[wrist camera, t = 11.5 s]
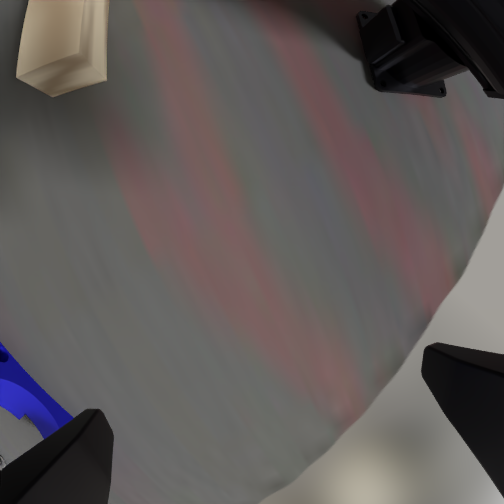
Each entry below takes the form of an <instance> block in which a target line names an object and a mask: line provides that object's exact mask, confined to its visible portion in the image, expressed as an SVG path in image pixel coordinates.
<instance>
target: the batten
mask: <svg viewBox="0 0 504 504" xmlns="http://www.w3.org/2000/svg"><path fill="white" fill-rule="evenodd" d="M108 12H109V0H29V3H28V7H27V11H26V16H25V20H24V25H23V31H22V36H21V42H20V49H19V56H18V64H17V73H16V78H18V79H20V80H21V81H23V82H25V83H27V84H29V85H31V86H33V87H34V88H36V89H38V90H40V91H42V92H44V93H45V94H47V95H49V96H51V97H56V96H58V95H61V94H64V93H67V92H70V91H73V90H76V89H80V88H83V87H86V86H90V85H93V84H97V83H100V82H104V81H107V29H108Z"/></svg>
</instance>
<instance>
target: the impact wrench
mask: <svg viewBox="0 0 504 504" xmlns="http://www.w3.org/2000/svg"><path fill="white" fill-rule="evenodd" d="M5 466H6V464H5V462H4V460H3V458H2V457H1V456H0V470H2V468H4V467H5Z"/></svg>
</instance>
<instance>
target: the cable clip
mask: <svg viewBox="0 0 504 504" xmlns="http://www.w3.org/2000/svg"><path fill="white" fill-rule="evenodd" d="M0 406H1V407H3V408H5V409H6V410H8V411H9V412H11V413H12V414H13V415H15V416H16V417H17V418H18V419H20V418H21V417H23V416H24V415H25V414H26V415H27V416H28V417H29V418H30V419H31V421H32V422H33V423H34V424H35V426H36V427H37V428H38V430H39V431H40V433H41V435H42V436H43V438H44V439H45V438H47V437H48V436H50V435H51V434H52V433H54V432H55V431H57V430H58V429H59V428H61V427H62V426H64V425H65V424H66V423H68V422H69V421H71V420H72V419H73V417H72V416H71V415H70V414H69V413H68V412H67V411H65V410H64V409H63V408H62V407H61V406H60V405H59V404H58V403H57V402H56V401H55V400H53V399H52V398H51V397H50V396H49V395H48V394H47V393H46V392H45V391H44V390H43V389H42V388H41V387H40V386H39V385H38V384H37V383H36V382H35V381H34V380H33V379H32V378H31V377H30V375H29V374H28V373H27V372H26V371H25V370H24V369H23V368H22V367H21V366H20V365H19V363H18V362H17V361H16V360H15V359H14V358H13V357H12V355H11V354H10V353H9V352H8V351H7V350H6V348H5V347H4V346H3V345H2V343H1V342H0Z"/></svg>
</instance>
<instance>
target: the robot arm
mask: <svg viewBox="0 0 504 504" xmlns="http://www.w3.org/2000/svg"><path fill="white" fill-rule="evenodd" d="M362 16H363V17H365V19H364V18H363V17H362ZM356 18H357V21H358V24H359V28H360V35H361V39H362V42H363V46H364V50H365V53H366V57H367V61H368V62H369V64H370V69H371V73H372V77H373V81H374V85H375V88H376V89H377V90H378V91H380V92H389V93H402V94H413V95H422V96H430V97H438V98H442V97H445V96H446V88H445V84H444V79H446V78H449V77H452V76H454V75H457V74H460V73H462V72H465V71H468V70H470V71H471V73H472V74H473V75H474V77H475V78H476V79H477V80H478V82H479V83H480V84H481V86H482V87H483V91H484V92H485V93H486V95H487V96H488V97H491V98H501V99H504V0H396V1H395V2H394V3H393V4H392V5H386V6H385V7H384V8H383V9H382V10H381V11H380V12H379V13H372V12H366V11H360V12H359V13H358V14H357V16H356ZM380 82H381V83H383V85H384V87H382V86H381V84H380ZM439 89H440V90H439ZM440 91H441V92H440ZM421 373H422V377H423V379H424V381H425V382H426V384H427V386H428V387H429V389H430V390H431V392H432V394H433V395H434V397H435V399H436V401H437V402H438V404H439V406H440V407H441V409H442V410H443V412H444V414H445V415H446V417H447V418H448V420H449V421H450V422H451V424H452V425H453V426H454V427H455V429H456V430H457V432H458V433H459V434H460V436H461V437H462V438H463V440H464V441H465V443H466V444H467V446H468V447H469V448H470V450H471V451H472V453H473V454H474V455H475V457H476V458H477V460H478V461H479V462H480V464H481V465H482V467H483V468H484V470H485V471H486V472H487V474H488V475H489V477H490V478H491V480H492V481H493V483H494V484H495V486H496V487H497V489H498V490H499V492H500V493H501V495H502V496H503V498H504V354H498V353H492V352H486V351H481V350H475V349H470V348H464V347H459V346H454V345H448V344H444V343H438V342H437V343H434V344H431V345H428V346H427V347H426V348H425V349H424V354H423V361H422V368H421ZM113 442H114V435H113V431H112V429H111V427H110V425H109V423H108V421H107V419H106V417H105V415H104V413H103V412H102V411H101V410H100V409H86V410H84V411H83V412H82V413H80V414H79V415H78V416H76V417H75V418H73V419H72V420H71V421H69V422H68V423H66V424H65V425H64V426H62V427H61V428H59V429H58V430H57V431H55V432H54V433H52V434H51V435H50V436H48V437H47V438H45V439H44V440H43V441H41V442H40V443H38V444H37V445H35V446H34V447H33V448H31V449H30V450H28V451H27V452H25V453H24V454H23V455H21V456H20V457H18V458H17V459H15V460H14V461H12V462H11V463H9V464H8V465H7V466H5V467H4V468H2V470H0V504H108V498H109V491H110V485H111V472H112V455H113Z"/></svg>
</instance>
